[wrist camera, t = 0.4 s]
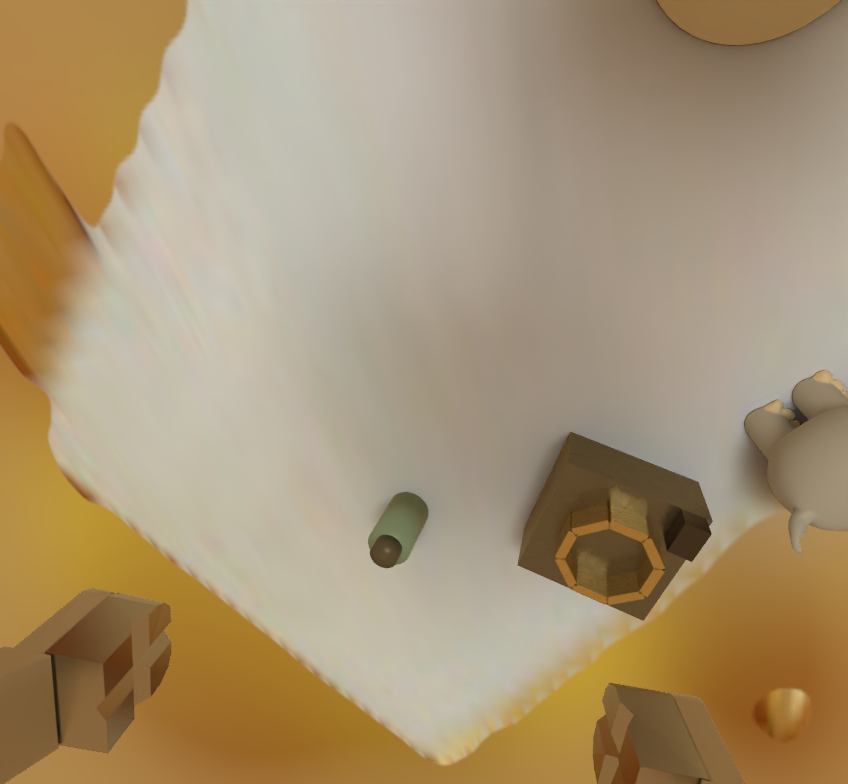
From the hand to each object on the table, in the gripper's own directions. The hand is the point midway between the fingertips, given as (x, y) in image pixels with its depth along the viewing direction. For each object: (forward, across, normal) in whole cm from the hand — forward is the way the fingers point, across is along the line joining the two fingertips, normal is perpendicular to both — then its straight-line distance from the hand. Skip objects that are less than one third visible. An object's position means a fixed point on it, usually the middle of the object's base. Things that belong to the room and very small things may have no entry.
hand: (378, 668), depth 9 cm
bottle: (+44, +3, +20) cm, 48 cm away
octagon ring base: (+39, -16, +14) cm, 45 cm away
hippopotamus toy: (+35, -32, +2) cm, 47 cm away
